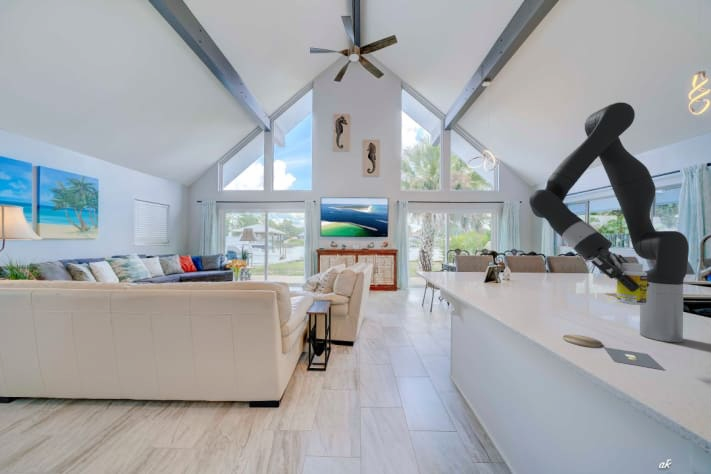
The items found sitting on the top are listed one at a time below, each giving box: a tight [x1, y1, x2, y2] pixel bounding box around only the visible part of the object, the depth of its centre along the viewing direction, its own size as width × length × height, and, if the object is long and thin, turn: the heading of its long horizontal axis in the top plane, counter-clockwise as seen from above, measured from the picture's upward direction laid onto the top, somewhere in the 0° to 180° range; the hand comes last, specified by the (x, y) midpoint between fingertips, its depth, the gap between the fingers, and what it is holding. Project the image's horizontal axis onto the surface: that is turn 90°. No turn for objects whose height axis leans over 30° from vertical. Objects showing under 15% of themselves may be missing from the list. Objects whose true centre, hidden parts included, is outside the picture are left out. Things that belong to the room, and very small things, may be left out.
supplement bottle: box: [616, 262, 647, 306], centre depth 74 cm, size 6×6×10 cm
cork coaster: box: [562, 334, 603, 348], centre depth 85 cm, size 9×9×1 cm
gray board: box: [603, 346, 666, 372], centre depth 74 cm, size 11×9×1 cm
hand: (641, 288), depth 72 cm, fingers closed on supplement bottle, 5 cm apart
